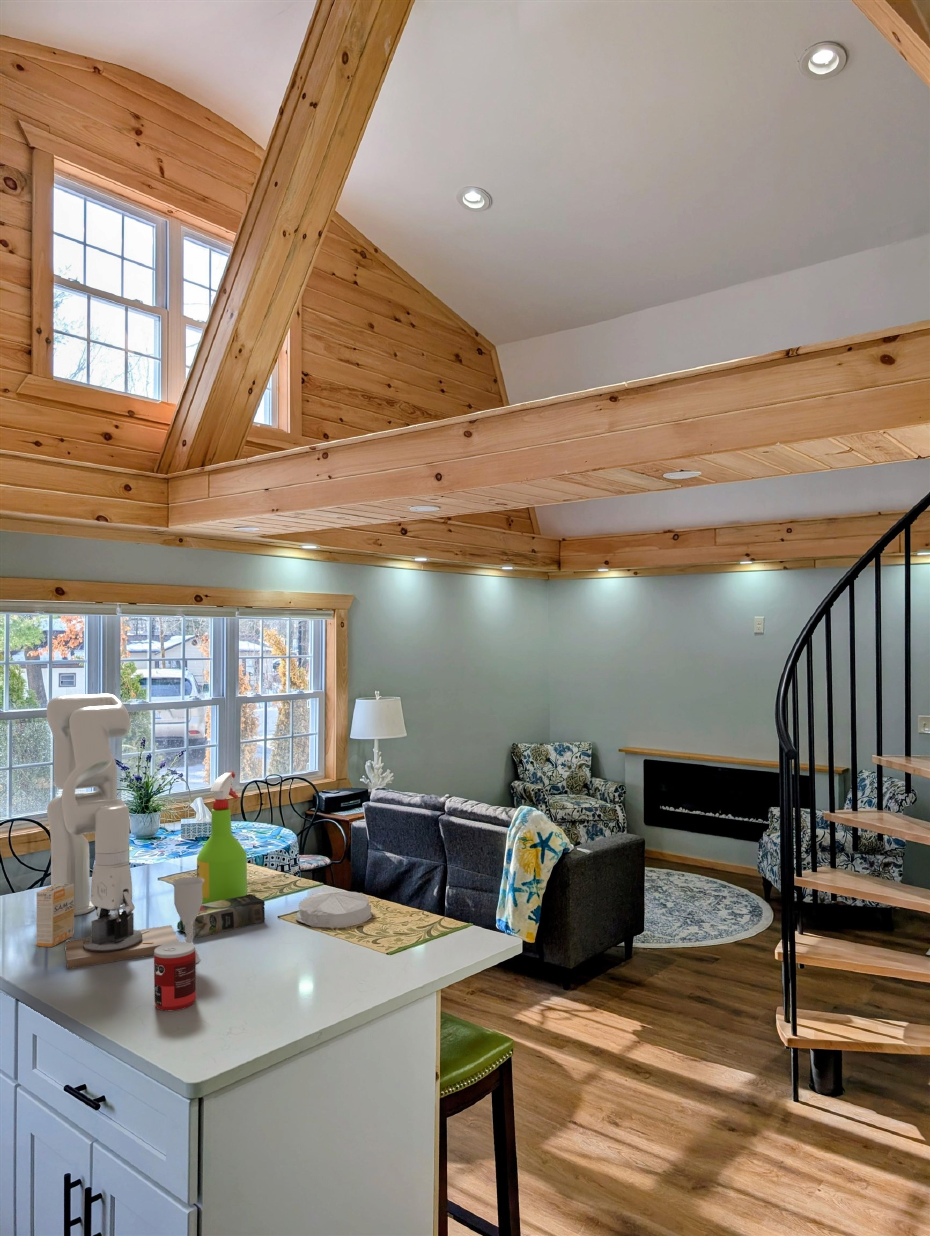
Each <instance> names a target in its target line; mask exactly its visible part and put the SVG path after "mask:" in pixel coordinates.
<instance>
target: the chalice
mask: <svg viewBox="0 0 930 1236" xmlns="http://www.w3.org/2000/svg"><path fill="white" fill-rule="evenodd" d="M203 882H204V879H203V878H199V877H197V876H192V877H191V876H188V877H187V876H186V877H180V878H177V879H174V880H172V881H171V885H172V886H173V891H174V892H173V893H174V894H173V896H174V897H173V898H174V899H173V903H174V907H175V910H176V912H177V914H178V916H179V919H180V918H181V920H182V922H185V923H186V926H187V927H186V930H185V932H186V933H185V934H186V936H185V939H184V942H189V943H192V941H193V940H194V938H191V932H192V929H191V922H193V921H195V919H196V917H197V914H198V912H199V910H200V907H201V904H202V884H203ZM195 953H196V964H197V963H199V962H200V961H201V960H202V959H201V958H200V955H199V953H198V951H197V950H196V949H195Z"/></svg>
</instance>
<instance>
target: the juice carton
mask: <svg viewBox="0 0 930 1236" xmlns="http://www.w3.org/2000/svg"><path fill="white" fill-rule="evenodd" d="M265 903H266V902H265V900H263V899H261V898H260V897H258V896H255V895H253V894H252V893H249V894H248V893H247V895H245V896H241V897H236V898H230V899H225V900H221V901H215V902H210V903H207V904H201V907H200V910H199V912H198V914H197V917H196V919H195V921H193V922H191V929H192V932H191V938H193V939H196V938H200V936H201V937H206V936H210V935H214V934H218V933H222V931H223V932H227V930H228V931H232V930H236V929H240V928H241V929H242V928H246V927H249V926H253V925H259V924H263V923H265V919H266V917H265V916H266V915H265V912H266V911H265V905H266V904H265ZM186 927H187V926H186V923H185V922H182V920H181V918H180V917H179V921H177V925H176V928H177V930H179V931H181V932H183V933H184V932H185V930H186ZM217 932H218V933H217ZM213 933H214V934H213ZM184 934H186V932H185V933H184ZM209 934H210V935H209Z"/></svg>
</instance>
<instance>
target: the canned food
mask: <svg viewBox="0 0 930 1236" xmlns="http://www.w3.org/2000/svg"><path fill="white" fill-rule="evenodd" d="M195 950H196V945H195V944H194V943H193V942H191V943H189V942H186V941H179V942H173V943H167V944H164V945H161V946H159V947H157V948H156V949H155V950H154V955H153V958H154V959H153V977H154V978H153V979H154V981H153V982H154V987H153V988H154V989H153V990H154V991H153V993H154V1006H155V1007H156V1008H157V1009H158V1010H161V1011H165V1010H167V1011H168V1010H173V1011H178V1010H179V1009H180V1010H183V1008H184V1009H187V1008H188V1006H189V1007H191V1006H192V1005H194V1003H195V1001H196V996H197V991H196V990H197V988H196V987H197V985H196V984H197V983H196V981H197V978H196V977H197V975H196V973H197V972H196V971H197V969H196V968H197V965H196V964H197V963H196V953H195ZM180 1010H179V1011H180Z"/></svg>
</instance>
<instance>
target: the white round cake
mask: <svg viewBox="0 0 930 1236" xmlns="http://www.w3.org/2000/svg"><path fill="white" fill-rule="evenodd" d="M298 909H299V911H298V912H297V913H296V914H295V917H294V918H295V919H296V920H297V921H298V922H300V923H303V924H305V925H308V926H311V927H312V928H330V929H335V928H338V929H339V928H341V929H342V928H348V927H353V926H356V925H359V924H360V925H361V924H363V923H365V922H367V921H368V920H369V919H371V918H372V916H373V915H372V904H370V899H369V898H368V897H367V896H366V895H365V894H363V893H360V892H357V891H344V890H343V891H342V890H340V891H338V890H337V891H336V890H333V891H323V892H319V893H314V894H311V895H309V896H307V897H304V898H303V899H301V900H300V901H299V902H298Z"/></svg>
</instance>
